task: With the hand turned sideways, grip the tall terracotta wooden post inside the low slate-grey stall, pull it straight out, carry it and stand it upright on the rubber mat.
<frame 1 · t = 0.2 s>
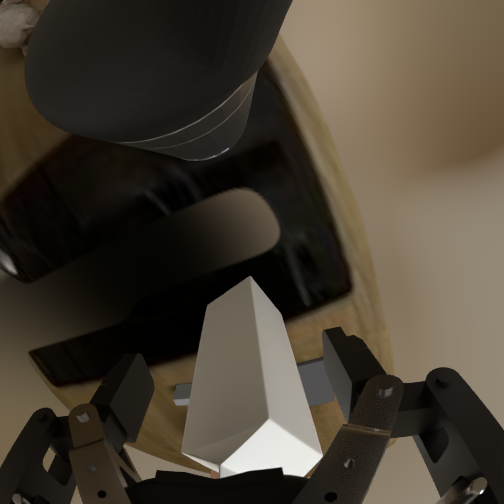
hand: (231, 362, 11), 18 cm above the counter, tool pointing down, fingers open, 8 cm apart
milk: (244, 308, 30), on the counter
rhinoceros figurine: (34, 29, 17), on the counter
mat: (301, 386, 34), on the counter
stall: (229, 412, 35), on the counter
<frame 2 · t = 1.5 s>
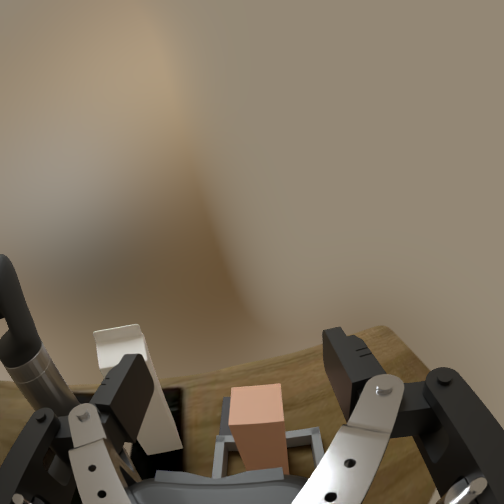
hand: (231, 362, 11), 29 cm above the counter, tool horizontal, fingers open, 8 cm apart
milk: (161, 439, 34), on the counter
mat: (249, 417, 38), on the counter
post: (270, 467, 28), on the counter
stall: (270, 472, 27), on the counter
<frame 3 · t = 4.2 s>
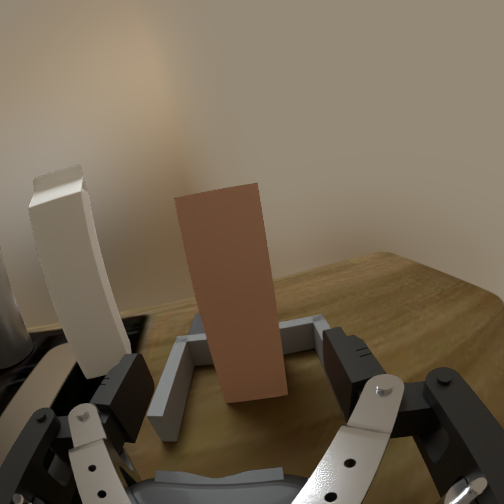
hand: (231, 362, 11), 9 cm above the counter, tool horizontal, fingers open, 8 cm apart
milk: (110, 362, 27), on the counter
post: (255, 380, 22), on the counter
stall: (256, 387, 21), on the counter
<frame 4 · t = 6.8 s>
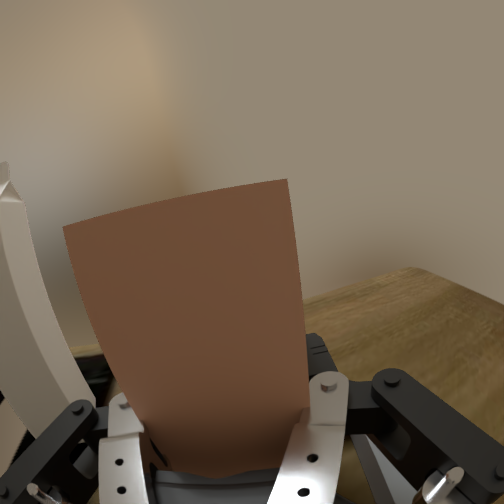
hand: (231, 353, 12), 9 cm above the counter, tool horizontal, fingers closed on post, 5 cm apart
milk: (70, 424, 16), on the counter
post: (262, 487, 11), on the counter, touching gripper
stall: (264, 500, 10), on the counter
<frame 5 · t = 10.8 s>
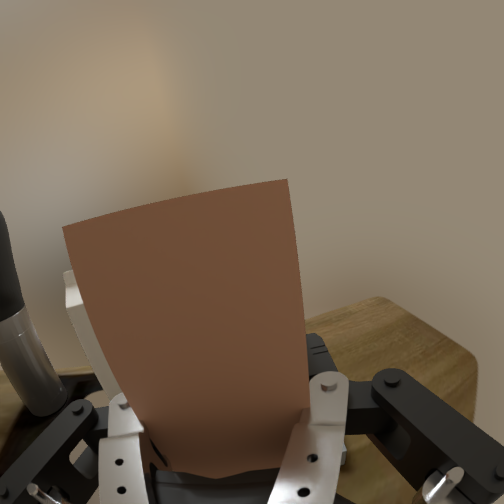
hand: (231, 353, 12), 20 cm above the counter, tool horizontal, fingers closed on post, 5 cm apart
milk: (146, 414, 31), on the counter
post: (262, 487, 11), point 11 cm above the counter, touching gripper
when the fingers open (10 cm above the counter, at t = 15.0 s): post stays where it is, resting on mat.
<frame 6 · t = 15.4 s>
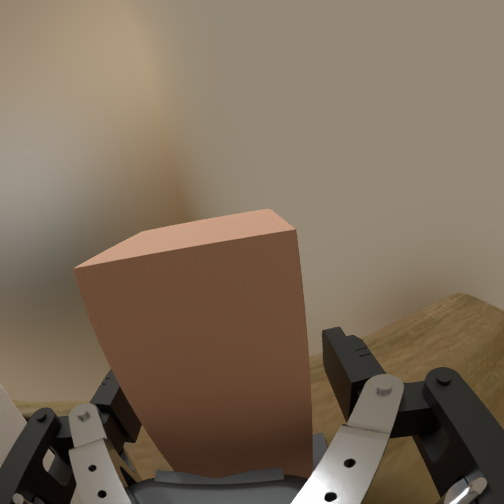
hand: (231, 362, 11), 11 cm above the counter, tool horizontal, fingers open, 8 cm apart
mat: (265, 496, 12), on the counter
post: (265, 493, 11), point 1 cm above the counter, touching mat
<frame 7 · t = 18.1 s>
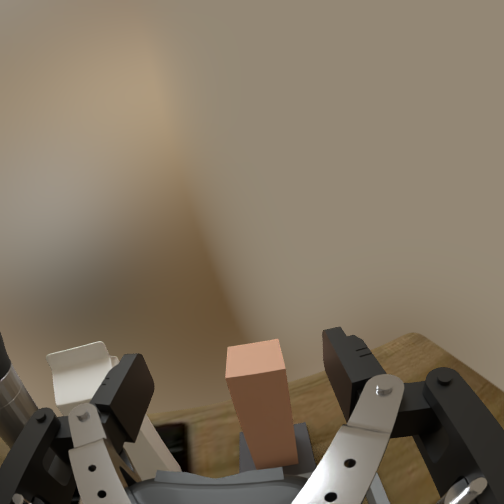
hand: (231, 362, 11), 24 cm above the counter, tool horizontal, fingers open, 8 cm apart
milk: (165, 488, 22), on the counter
mat: (275, 454, 27), on the counter
post: (275, 452, 27), point 1 cm above the counter, touching mat
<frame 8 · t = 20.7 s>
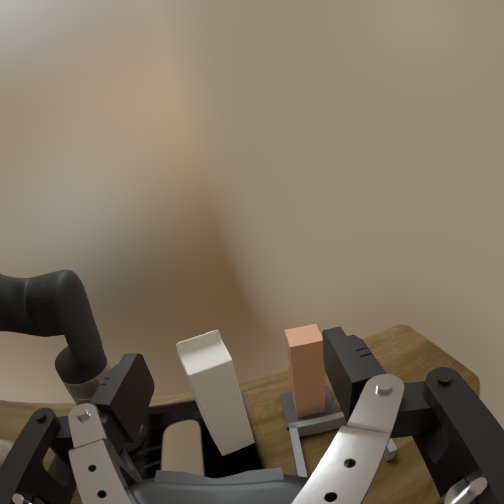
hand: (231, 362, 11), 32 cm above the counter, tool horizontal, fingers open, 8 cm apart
milk: (232, 439, 38), on the counter
rhinoceros figurine: (17, 470, 21), on the counter
mat: (308, 407, 43), on the counter
post: (308, 405, 43), point 1 cm above the counter, touching mat
stall: (339, 447, 32), on the counter
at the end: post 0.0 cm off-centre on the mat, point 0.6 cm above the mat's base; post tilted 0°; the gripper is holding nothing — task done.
